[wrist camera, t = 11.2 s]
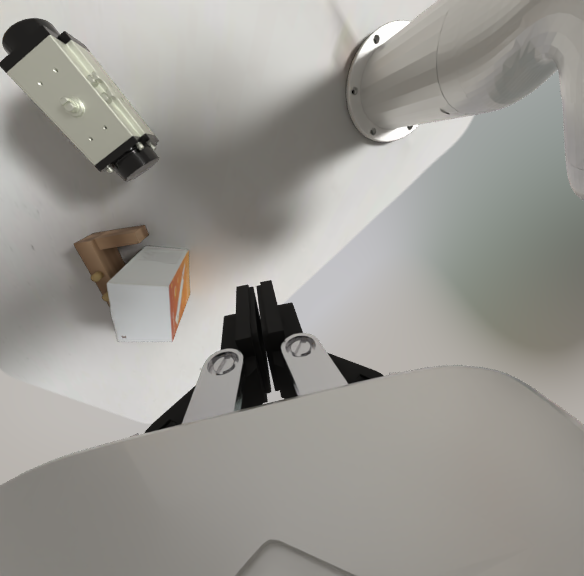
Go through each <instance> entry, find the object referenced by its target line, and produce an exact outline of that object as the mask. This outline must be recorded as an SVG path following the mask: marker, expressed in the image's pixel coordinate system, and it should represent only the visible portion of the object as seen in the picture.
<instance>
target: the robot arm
mask: <svg viewBox="0 0 584 576" xmlns="http://www.w3.org/2000/svg"><path fill="white" fill-rule="evenodd" d="M373 40H374V41H375V44H374V42H373ZM557 70H558V72H559V80H560V92H561V97H562V104H563V123H564V142H565V156H566V166H567V173H568V180H569V183H570V185H571V187H572V189H573V191H574V192H575V194H576V195H577V196H578V197H579V198H581V199H582V200H583V201H584V0H438V1H436V2H435V3H434V4H433V5H431V6H430V7H429V8H427V9H426V10H425V11H424V12H422V13H421V14H420V15H418V16H417V17H416V18H415V19H413V20H412V21H411V22H410V21H403V20H397V21H393V22H389V23H387V24H385V25H383V26H381V27H379V28H378V29H377V30H376V31H374V32H373V33H372V34H371V35H370V36H369V37H368V38H367V39H366V40H365V41H364V42H363V44H362V45H361V47H360V48H359V50H358V51H357V53H356V55H355V57H354V59H353V61H352V64H351V67H350V70H349V74H348V80H347V92H346V97H347V105H348V110H349V113H350V117H351V119H352V121H353V123H354V125H355V126H356V128H357V129H358V130H359V131H360V132H361V133H362V134H363V135H364V136H365V137H367V138H369V139H371V140H373V141H377V142H391V141H396V140H399V139H401V138H403V137H405V136H407V135H408V134H410V133H411V132H412V131H413V130H414V129H416V128H417V127H418V125H419V124H425V123H430V122H436V121H442V120H448V119H454V118H460V117H466V116H472V115H477V114H482V113H488V112H492V111H496V110H500V109H502V108H505V107H507V106H510V105H512V104H514V103H516V102H517V101H519V100H521V99H522V98H524V97H525V96H527V95H529V94H530V93H532V92H533V91H534V90H535V89H537V88H538V87H539V86H540V85H541V84H543V83H544V82H545V81H546V80H547V79H548V78H550V77H551V76H552V75H553V74H554V73H555V72H556V71H557ZM352 90H353V91H354V94H352V92H351V91H352ZM407 126H408V128H407ZM370 131H372V133H370ZM260 284H261V285H259V286H257V294H258V303H259V311H260V315H259V311H258V306H257V302H256V297H255V293H254V288H253V287H249V286H248V285H243V286H238V287H237V291H236V314H232V315H227V316H224V323H223V333H222V343H221V350H220V351H218V352H215V353H214V354H212V355H211V356H210V357H209V358H208V359H207V360H206V361H205V363H204V365H203V368H202V370H201V373H200V376H199V378H198V381H197V384H196V386H195V387H193V388H192V389H191V390H190V391H189V392H188V393H187V394H186V395H184V396H183V397H182V398H181V399H180V400H179V401H178V402H176V403H175V404H174V405H173V406H172V407H171V408H170V409H169V410H167V411H166V412H165V413H164V414H163V415H162V416H161V417H159V418H158V419H157V420H156V421H155V422H154V423H153V424H152V425H151V426H150V427H149V428H148V429H147V430H146V432H145V433H144V434H141V435H139V434H138V433H137V434H135V435H133V436H130V437H128V438H125V439H121V440H117V441H113V442H110V443H106V444H103V445H99V446H96V447H92V448H89V449H85V450H81V451H78V452H74V453H71V454H69V455H66V456H63V457H60V458H57V459H55V460H52V461H49V462H47V463H45V464H42V465H40V466H38V467H35V468H33V469H31V470H29V471H26V472H24V473H22V474H21V475H19V476H17V477H15V478H13V479H11V480H9V481H7V482H6V483H4V484H2V485H0V576H584V424H582V423H581V422H580V421H579V420H577V419H576V418H575V417H573V416H572V415H570V414H569V413H568V412H566V411H565V410H563V409H562V408H561V407H560V406H558V405H557V404H556V403H554V402H553V401H551V400H550V399H549V398H547V397H546V396H544V395H543V394H541V393H540V392H538V391H537V390H536V389H534V388H532V387H531V386H529V385H528V384H526V383H524V382H523V381H521V380H519V379H517V378H515V377H513V376H511V375H509V374H506V373H503V372H501V371H498V370H493V369H488V368H483V367H474V366H463V365H453V366H436V367H427V368H421V369H416V370H411V371H406V372H398V373H389V375H386V376H383V375H382V374H381V373H379V372H377V371H375V370H372V369H369V368H367V367H364V366H361V365H359V364H356V363H353V362H350V361H348V360H345V359H343V358H340V357H337V356H334V355H332V354H329V353H327V352H326V350H325V349H324V348H323V346H322V345H321V343H320V342H319V340H318V339H317V338H316V337H315V336H313V335H311V334H306V333H303V332H302V329H301V326H300V323H299V320H298V318H297V315H296V312H295V309H294V306H293V303H288V304H282V305H277V301H276V297H275V293H274V289H273V285H272V281H271V280H270V281H264V282H260ZM266 353H267V354H266ZM267 357H268V361H269V366H270V370H271V374H272V379H273V383H274V388H275V391H279V390H280V393H281V397H282V398H284V400H279V401H275V402H271V403H267V404H263V403H265V402H267V393H270V392H271V385H270V377H269V370H268V362H267ZM262 404H263V405H262Z"/></svg>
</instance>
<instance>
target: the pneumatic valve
mask: <svg viewBox="0 0 584 576" xmlns="http://www.w3.org/2000/svg"><path fill="white" fill-rule="evenodd" d="M2 44H3V47H4V49H5V51H6V52H7V53H8V54H9V55H8V56H6V57H5V58H4V59H3V60H2V61H1V62H0V67H1V68H2V69H3V70H4V71H5V72H6V73H7V74H8V75H9V76H10V77H11V78H12V79H13V80H14V81H15V83H16V84H17V85H18V86H19V87H20V88H21V89H22V90H23V91H24V92H25V93H26V94H27V95H28V96H29V97H30V98H31V99H32V100H33V102H34V103H35V104H36V105H37V106H38V107H39V108H40V109H41V110H42V111H43V112H44V113H45V114H46V115H47V116H48V117H49V118H50V119H51V120H52V122H53V123H54V124H55V125H56V126H57V127H58V128H59V129H60V130H61V131H62V132H63V133H64V134H65V135H66V136H67V137H68V138H69V139H70V141H71V142H72V143H73V144H74V145H75V146H76V147H77V148H78V149H79V150H80V151H81V152H82V153H83V154H84V155H85V156H86V157H87V158H88V159H89V161H90V162H91V163H92V164H93V165H94V166H95V167H96V168H97V169H98V170H99V171H100V172H102V171H108V173H112V172H113V171H114V170H115V171H116V172H117V173H118V175H119V176H120V177H121V178H122V179H123V180H124V181H126V182H127V181H130V180H132V179H134V178H136V177H138V176H139V175H141V174H142V173H144V172H145V171H147V170H148V169H149V168H151V167H152V166H153V165H154V164H155V163H156V162H157V161H158V160H159V157H158V156H157V155H156V153H155V152H154V151H153V150H155V149H156V147H155V146H156V145H157V142H158V141H159V140H158V139H157V138H156V136H155V135H154V134H153V133H152V131H151V130H150V129H149V127H148V126H147V125H146V123H145V122H144V121H143V120H142V118H141V117H140V116H139V114H138V113H137V112H136V111H135V109H134V108H133V107H132V105H131V104H130V103H129V102H128V100H127V99H126V98H125V96H124V95H123V94H122V93H121V91H120V90H119V89H118V87H117V86H116V85H115V84H114V82H113V81H112V80H111V78H110V77H109V76H108V75H107V73H106V72H105V71H104V69H103V68H102V67H101V65H100V64H99V63H98V62H97V60H96V59H95V58H94V56H93V55H92V54H91V53H90V51H89V50H88V49H87V47H86V46H85V45H84V44H82V43H81V42H80V41H78V40H77V39H75V38H74V37H72V36H71V35H70V34H68V33H67V32H65V31H64V32H63V33H61V34H59V32H58V31H57V30H56V29H55V27H54V26H53V25H52V24H51V23H50V22H48V21H46V20H43V19H38V18H30V19H25V20H22V21H19V22H17V23H15V24H14V25H12V26H11V27H10V28H9V29H8V30H7V31H6V32H5V34H4V36H3V40H2Z"/></svg>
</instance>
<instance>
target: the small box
mask: <svg viewBox="0 0 584 576" xmlns="http://www.w3.org/2000/svg"><path fill="white" fill-rule="evenodd" d="M107 291H108V297H109V302H110V309H111V316H112V320H113V324H114V328H115V333H116V338H117V341H118V342H172V341H173V339H174V336H175V333H176V330H177V328H178V325H179V322H180V320H181V317H182V314H183V311H184V309H185V306H186V303H187V301H188V298H189V295H190V284H189V250H188V249H177V248H166V247H154V246H145V247H144V248H143V249H142V250H141V251H140V252H139V253H138V254H137V255H135V256H134V257H133V258H132V259H131V260H130V261H129V262H128V263H127V264H126V265H125V266H124V267H123V268H122V269H121V270H120V271H119V272H118V273H117V274H116V275H115V276H114V277H113V278H112V279H110V280H109V281H108V282H107Z"/></svg>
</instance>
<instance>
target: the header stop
mask: <svg viewBox="0 0 584 576" xmlns="http://www.w3.org/2000/svg"><path fill="white" fill-rule="evenodd" d="M148 235H149V234H148V232H147V229H146V227H145V225H141V226H135V227H129V228H122V229H116V230H110V231H104V232H97V233H93V234H91V235H89V236H87V237H85V238H84V239H82V240H80V241H78V242H76V243H74V246H75V248H76V250H77V251H78V253H79V255H80V257H81V258H82V260H83V262H84V263H85V265H86V267H87V269H88V270H89V272H90V274H91V280H92V281H94V282H95V283H96V284H97V286H98V288H99V290H100V291H101V293H102V295H103V296H102V299H103V300H104V301H106V302H107V303H108V305H109V307H110V302H109V297H108V291H107V282H108V281H109V280H110V279H112V278H113V277H114V276H115V275H116V274H117V273H118V272H119V271H120V270H121V269H122V268H123V267H124V266H125V263H124V261H123V259H122V257H121V255H120V253H119V251H118V249H117V247H120V246H126V245H132V244H138V243H140V242H141V241H142V240H144V239H145V238H146V237H147V236H148Z"/></svg>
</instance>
